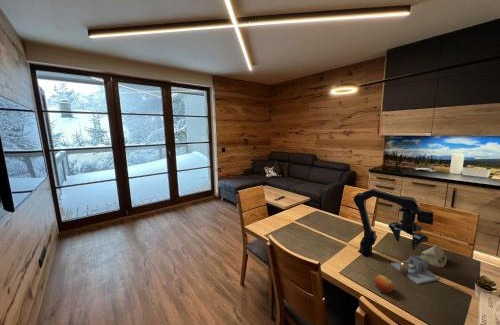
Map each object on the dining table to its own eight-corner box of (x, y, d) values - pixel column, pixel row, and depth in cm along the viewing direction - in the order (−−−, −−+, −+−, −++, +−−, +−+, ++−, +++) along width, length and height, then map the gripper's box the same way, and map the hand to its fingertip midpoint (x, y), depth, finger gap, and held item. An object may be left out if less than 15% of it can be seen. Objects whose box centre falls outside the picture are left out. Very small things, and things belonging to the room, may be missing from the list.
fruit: (367, 282, 107) (376, 269, 106) (379, 288, 108) (387, 276, 107) (378, 294, 99) (387, 281, 98) (391, 301, 100) (400, 287, 99)
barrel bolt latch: (418, 284, 107) (419, 271, 105) (390, 264, 122) (392, 253, 121) (439, 279, 110) (441, 266, 108) (410, 261, 125) (411, 249, 124)
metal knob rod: (404, 274, 112) (405, 265, 111) (398, 270, 116) (399, 261, 115) (430, 269, 116) (431, 260, 115) (423, 264, 119) (424, 256, 118)
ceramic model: (439, 269, 117) (442, 253, 116) (416, 259, 127) (418, 244, 125) (450, 261, 124) (452, 246, 122) (427, 252, 134) (429, 237, 132)
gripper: (437, 225, 110) (433, 252, 112) (403, 211, 128) (400, 235, 130) (421, 228, 107) (418, 255, 110) (389, 214, 125) (386, 238, 127)
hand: (405, 245), depth 119 cm, fingers open, 9 cm apart
